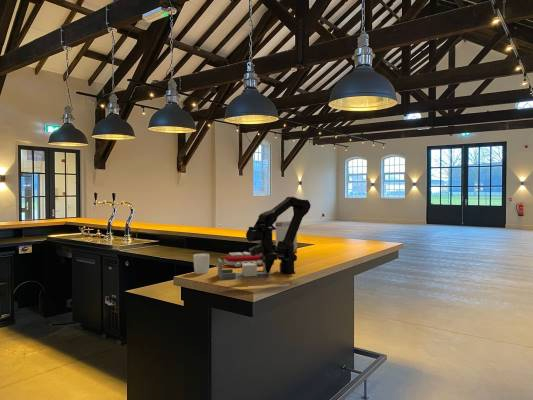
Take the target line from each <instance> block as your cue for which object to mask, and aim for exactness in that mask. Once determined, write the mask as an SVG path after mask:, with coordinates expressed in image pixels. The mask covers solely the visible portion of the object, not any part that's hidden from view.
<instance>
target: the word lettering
mask: <svg viewBox="0 0 533 400" xmlns="http://www.w3.org/2000/svg"><path fill="white" fill-rule="evenodd" d="M259 256H260V254H259V255H257V254H256V255H255V256H252V255H251V254H250V252H248V251H242V252H240V251H239V252H238V251H237V252H236V251H235V252H229V253H228V254H226V255H225V256H224V258H223V262H224V264H225V266H227V267H228V268H231V269H233V268H242V264H245V263H255V264H256V265H257V267H263V261H262V259H260V258H259ZM273 265H275V261H274V262H273ZM273 265H272V266H273Z"/></svg>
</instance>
